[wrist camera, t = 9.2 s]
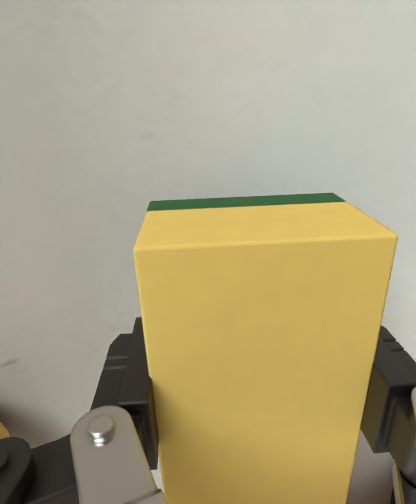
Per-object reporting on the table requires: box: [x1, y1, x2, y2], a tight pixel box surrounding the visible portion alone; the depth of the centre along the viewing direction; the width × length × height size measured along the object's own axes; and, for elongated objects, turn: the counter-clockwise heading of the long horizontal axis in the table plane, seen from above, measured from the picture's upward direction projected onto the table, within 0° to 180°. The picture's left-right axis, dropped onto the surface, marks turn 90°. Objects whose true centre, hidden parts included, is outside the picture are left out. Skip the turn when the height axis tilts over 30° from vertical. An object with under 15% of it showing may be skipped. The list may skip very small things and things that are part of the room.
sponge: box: [133, 193, 398, 504], centre depth 11 cm, size 9×6×4 cm, turn 2°
